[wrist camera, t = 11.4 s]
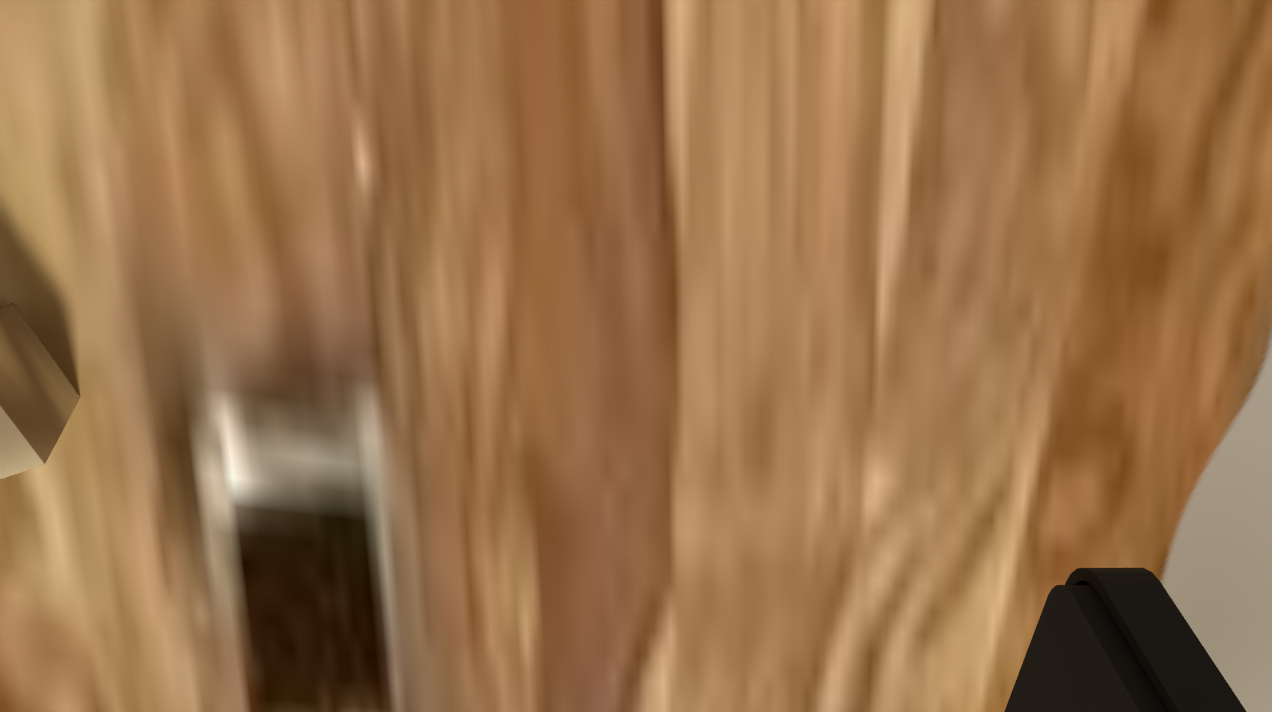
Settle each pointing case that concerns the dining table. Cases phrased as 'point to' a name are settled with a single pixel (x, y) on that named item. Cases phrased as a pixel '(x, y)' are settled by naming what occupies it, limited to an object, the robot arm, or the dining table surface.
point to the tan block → (29, 396)
